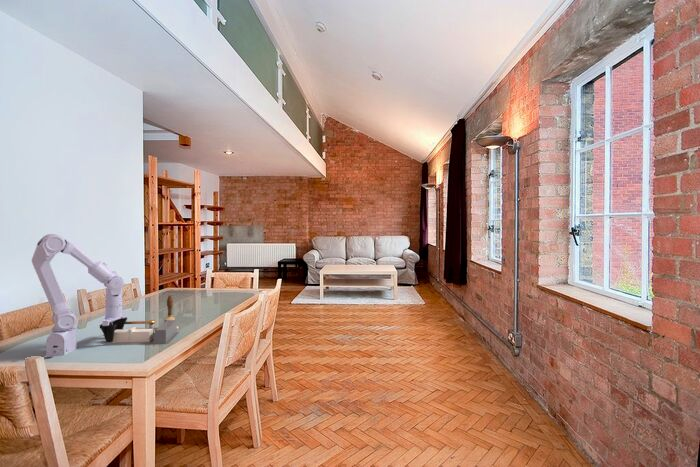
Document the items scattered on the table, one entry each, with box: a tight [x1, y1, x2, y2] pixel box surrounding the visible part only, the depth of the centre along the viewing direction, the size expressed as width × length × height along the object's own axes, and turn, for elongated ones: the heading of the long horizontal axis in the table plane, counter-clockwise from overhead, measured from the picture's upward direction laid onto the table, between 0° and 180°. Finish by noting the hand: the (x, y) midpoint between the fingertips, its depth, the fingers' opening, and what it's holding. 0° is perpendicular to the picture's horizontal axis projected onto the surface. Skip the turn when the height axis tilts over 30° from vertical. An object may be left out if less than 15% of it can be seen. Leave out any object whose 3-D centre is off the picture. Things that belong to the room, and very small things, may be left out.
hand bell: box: [163, 294, 179, 330], centre depth 168 cm, size 8×8×16 cm
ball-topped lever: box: [124, 319, 156, 325], centre depth 158 cm, size 15×2×1 cm, turn 100°
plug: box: [111, 326, 153, 343], centre depth 149 cm, size 4×17×5 cm, turn 99°
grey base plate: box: [102, 319, 180, 347], centre depth 153 cm, size 16×24×6 cm, turn 100°
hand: (113, 338), depth 149 cm, fingers open, 7 cm apart
